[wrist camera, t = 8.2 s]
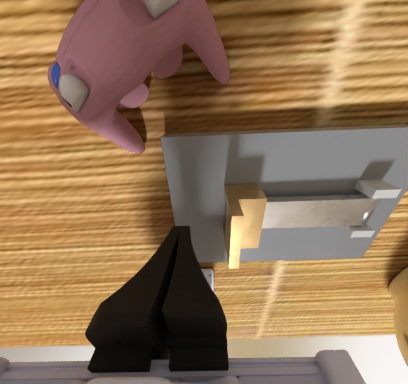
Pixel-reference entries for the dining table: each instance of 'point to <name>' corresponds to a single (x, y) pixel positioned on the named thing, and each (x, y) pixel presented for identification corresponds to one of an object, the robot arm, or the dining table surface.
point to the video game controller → (129, 58)
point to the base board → (286, 183)
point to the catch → (242, 219)
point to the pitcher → (401, 310)
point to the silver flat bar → (318, 211)
